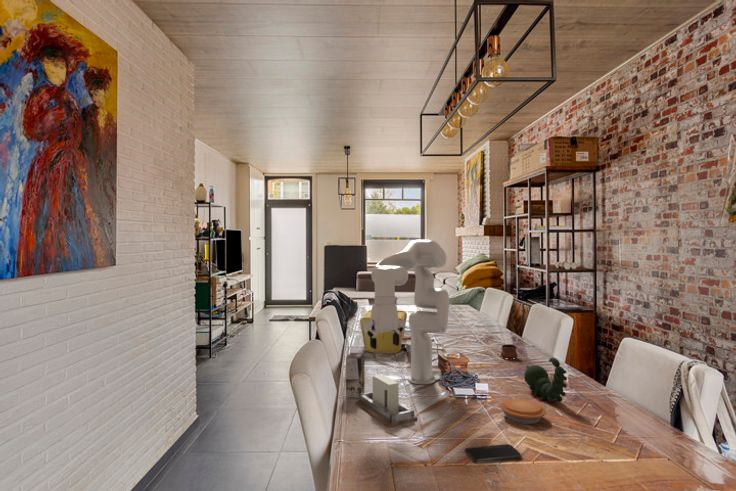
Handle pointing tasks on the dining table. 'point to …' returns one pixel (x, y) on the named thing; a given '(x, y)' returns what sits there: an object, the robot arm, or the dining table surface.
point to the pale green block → (386, 393)
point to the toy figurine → (546, 381)
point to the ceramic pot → (509, 351)
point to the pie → (522, 411)
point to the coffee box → (355, 374)
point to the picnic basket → (382, 335)
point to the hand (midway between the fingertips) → (384, 346)
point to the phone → (493, 453)
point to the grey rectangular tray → (385, 411)
